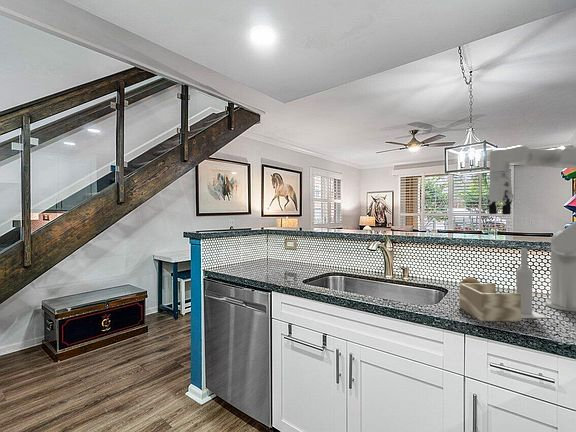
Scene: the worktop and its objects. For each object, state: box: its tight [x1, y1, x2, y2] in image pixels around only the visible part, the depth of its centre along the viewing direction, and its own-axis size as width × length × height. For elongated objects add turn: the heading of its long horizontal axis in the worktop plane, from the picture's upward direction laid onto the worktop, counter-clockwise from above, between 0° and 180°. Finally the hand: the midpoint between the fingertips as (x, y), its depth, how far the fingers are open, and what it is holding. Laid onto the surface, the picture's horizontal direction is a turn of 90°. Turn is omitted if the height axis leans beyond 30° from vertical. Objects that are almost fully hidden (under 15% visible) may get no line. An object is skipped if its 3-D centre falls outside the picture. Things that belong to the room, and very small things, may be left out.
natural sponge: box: [460, 277, 481, 283], centre depth 142 cm, size 9×9×10 cm
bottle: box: [515, 247, 534, 315], centre depth 122 cm, size 5×5×25 cm
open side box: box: [459, 282, 522, 322], centre depth 123 cm, size 14×16×10 cm
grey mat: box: [521, 310, 548, 319], centre depth 122 cm, size 10×10×1 cm
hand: (499, 214), depth 143 cm, fingers open, 9 cm apart
